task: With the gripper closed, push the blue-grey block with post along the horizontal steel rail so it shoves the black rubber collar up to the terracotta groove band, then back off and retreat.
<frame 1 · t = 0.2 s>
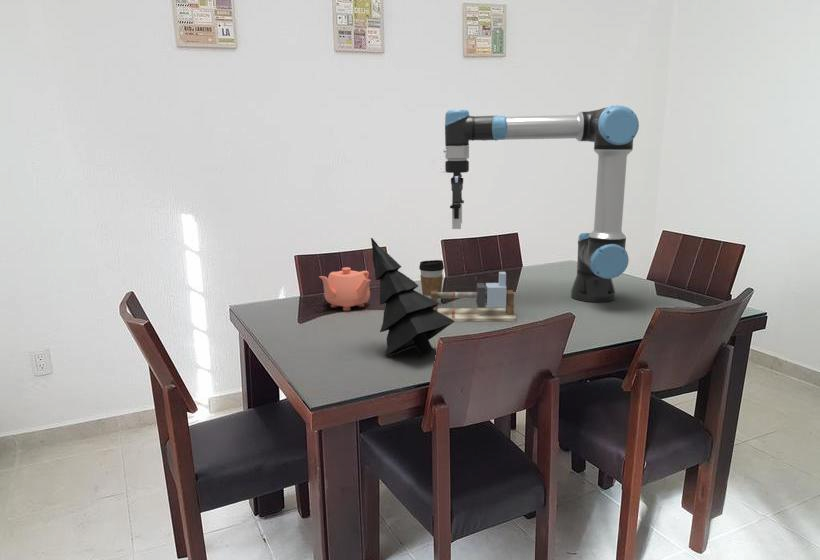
hand: (457, 226, 204), 28 cm above the table, fingers open, 13 cm apart
blue-grey block with post: (495, 288, 198), point 9 cm above the table, slide at -7.5 cm
collar: (480, 295, 199), point 7 cm above the table, slide at -2.8 cm
coffee cup: (431, 304, 216), on the table
teapot: (347, 307, 214), on the table
pipe rig: (471, 316, 200), on the table
decorative tree: (404, 351, 169), on the table
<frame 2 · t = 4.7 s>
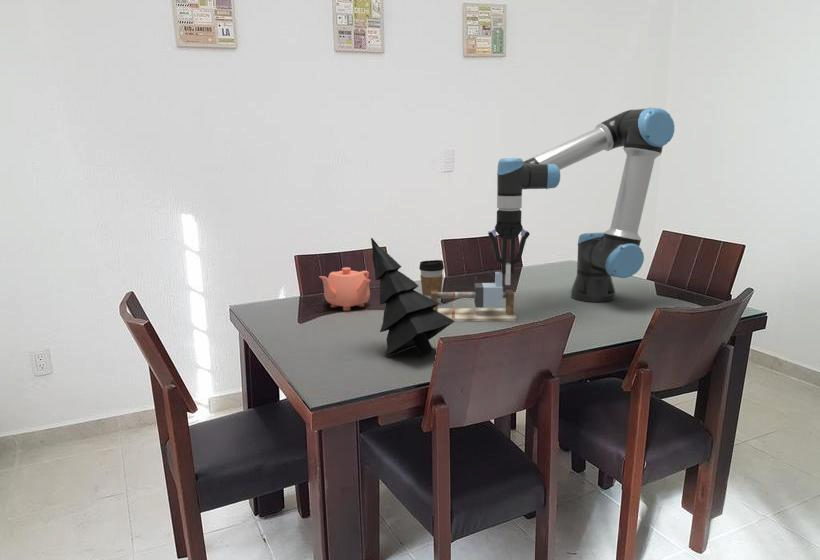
hand: (507, 283, 197), 11 cm above the table, fingers closed
blue-grey block with post: (492, 288, 198), point 9 cm above the table, slide at -6.3 cm, touching collar, gripper
collar: (478, 295, 199), point 7 cm above the table, slide at -2.1 cm, touching blue-grey block with post
everything else where it was.
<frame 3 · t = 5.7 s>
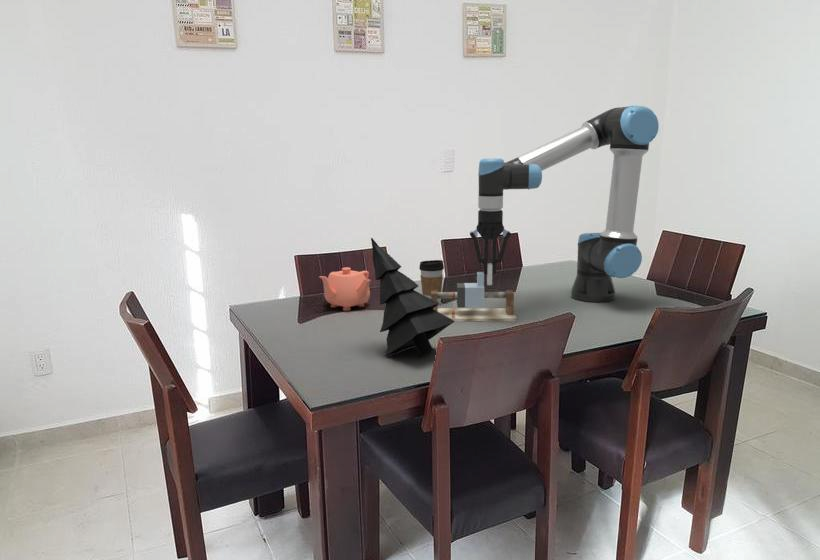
hand: (489, 284, 198), 11 cm above the table, fingers closed
blue-grey block with post: (474, 288, 198), point 9 cm above the table, slide at -0.7 cm, touching collar, gripper
collar: (460, 295, 199), point 7 cm above the table, slide at 3.5 cm, touching blue-grey block with post
everything else where it was.
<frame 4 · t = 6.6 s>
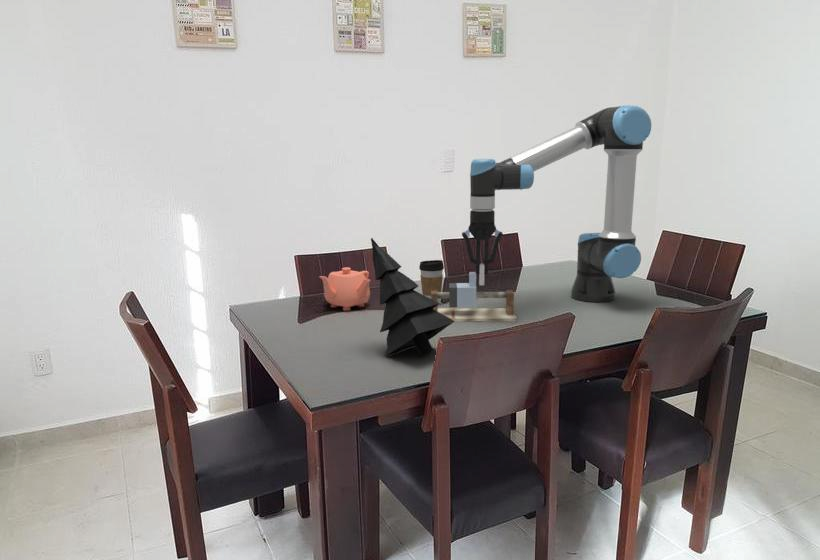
hand: (481, 284, 198), 11 cm above the table, fingers closed
blue-grey block with post: (466, 289, 198), point 9 cm above the table, slide at 1.8 cm, touching collar, gripper
collar: (453, 295, 199), point 7 cm above the table, slide at 6.0 cm, touching blue-grey block with post
everything else where it was.
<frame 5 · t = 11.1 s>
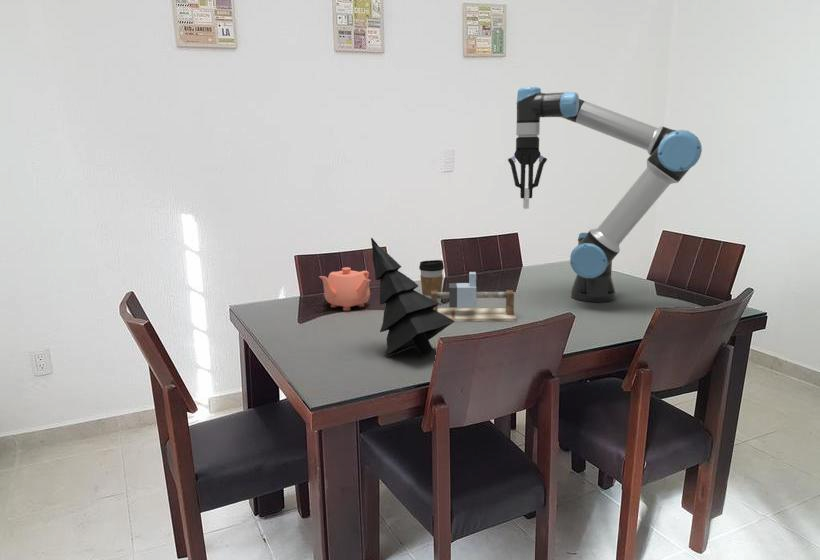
hand: (526, 208, 211), 32 cm above the table, fingers closed
blue-grey block with post: (466, 289, 198), point 9 cm above the table, slide at 1.9 cm, touching collar
everything else where it was.
at the end: collar slide at 6.1 cm; blue-grey block with post slide at 1.9 cm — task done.
